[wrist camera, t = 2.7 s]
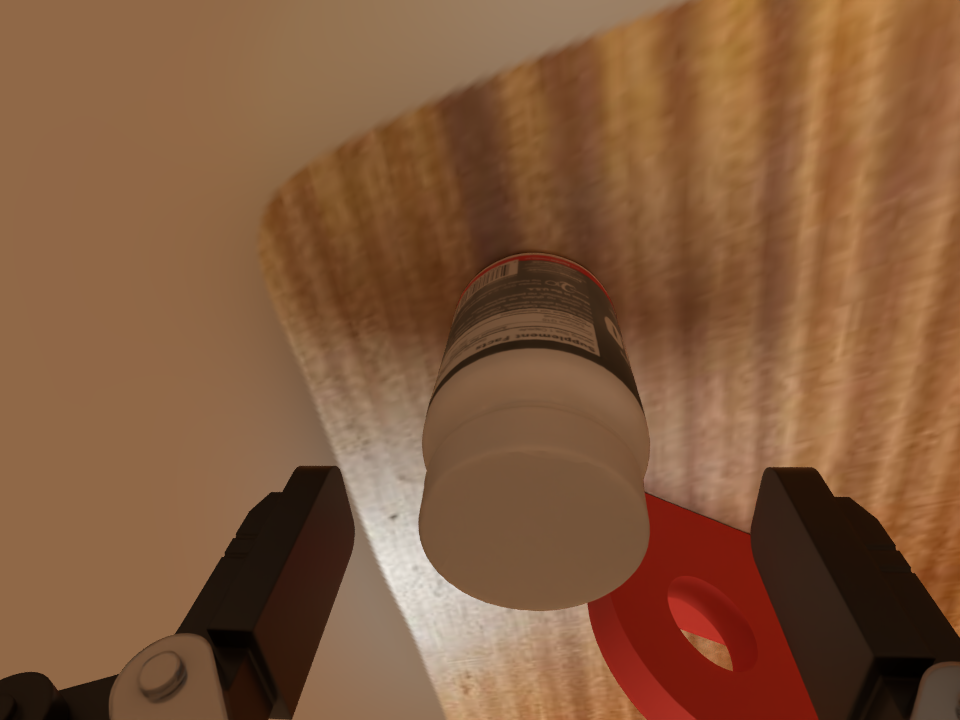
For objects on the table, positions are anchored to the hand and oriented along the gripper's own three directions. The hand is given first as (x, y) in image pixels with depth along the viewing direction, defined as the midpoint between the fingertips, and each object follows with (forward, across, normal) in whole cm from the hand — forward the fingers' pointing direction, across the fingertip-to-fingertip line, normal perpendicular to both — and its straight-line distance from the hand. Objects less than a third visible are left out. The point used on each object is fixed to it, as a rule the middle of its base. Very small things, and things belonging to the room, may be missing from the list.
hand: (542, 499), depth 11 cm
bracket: (+7, -6, +10) cm, 14 cm away
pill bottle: (+7, 0, 0) cm, 7 cm away
